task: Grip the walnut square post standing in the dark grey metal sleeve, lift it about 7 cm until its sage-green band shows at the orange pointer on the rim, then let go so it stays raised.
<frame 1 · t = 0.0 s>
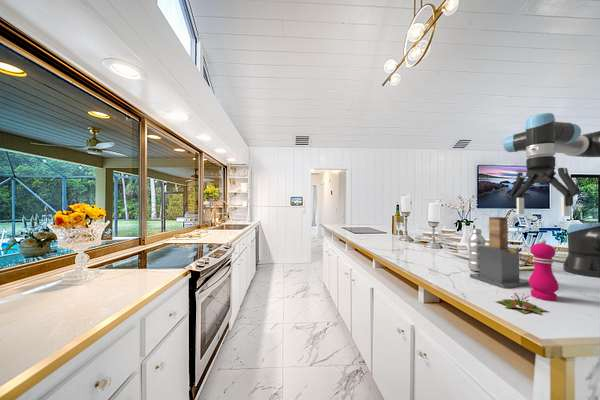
hand: (541, 215, 87), 28 cm above the table, tool pointing down, fingers open, 13 cm apart
column: (498, 247, 99), point 14 cm above the table, slide at 0.0 cm
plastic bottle: (476, 271, 114), on the table
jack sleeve: (499, 281, 99), on the table
lily flower: (520, 309, 74), on the table
pepper mill: (543, 298, 82), on the table
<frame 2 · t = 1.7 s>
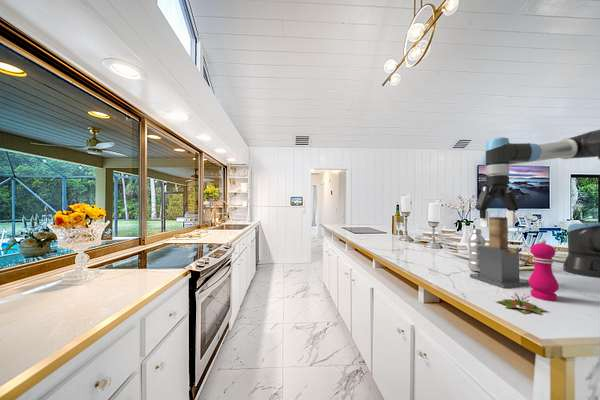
hand: (497, 226, 100), 23 cm above the table, tool pointing down, fingers open, 13 cm apart
nothing on the table moved.
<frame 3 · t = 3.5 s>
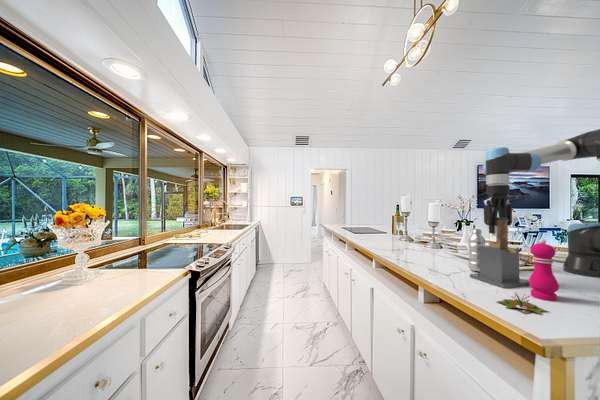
hand: (498, 241, 99), 17 cm above the table, tool pointing down, fingers closed on column, 4 cm apart
column: (498, 247, 99), point 14 cm above the table, slide at 0.0 cm, touching gripper
everything else where it was.
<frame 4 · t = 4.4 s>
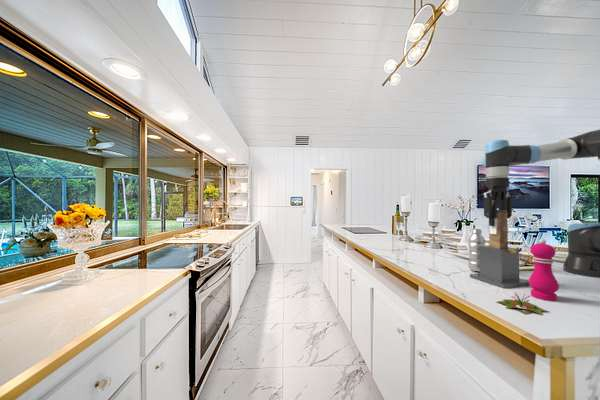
hand: (498, 233, 99), 20 cm above the table, tool pointing down, fingers closed on column, 4 cm apart
column: (498, 239, 99), point 17 cm above the table, slide at 3.1 cm, touching gripper
everything else where it was.
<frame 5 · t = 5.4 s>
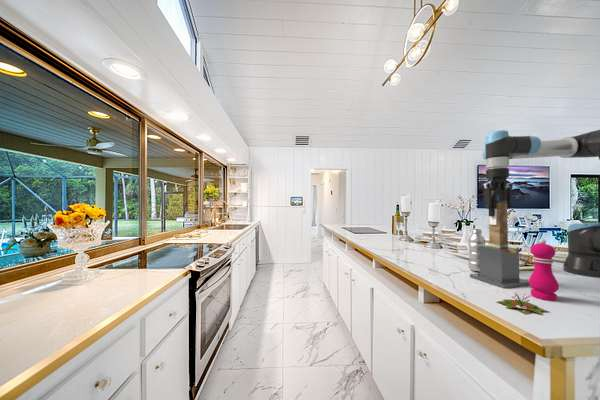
hand: (498, 224, 100), 24 cm above the table, tool pointing down, fingers closed on column, 4 cm apart
column: (498, 230, 99), point 21 cm above the table, slide at 6.9 cm, touching gripper
everything else where it was.
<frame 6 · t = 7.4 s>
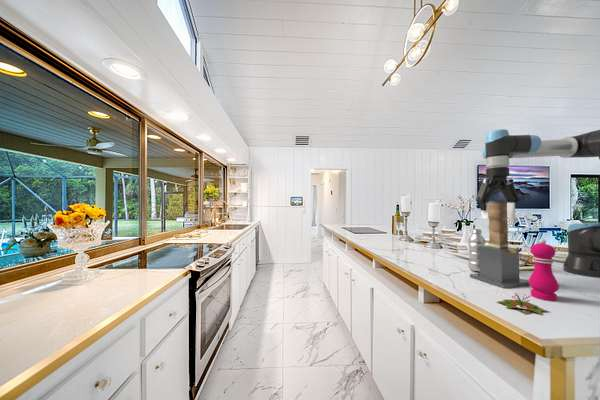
hand: (498, 218, 100), 26 cm above the table, tool pointing down, fingers open, 13 cm apart
column: (498, 230, 99), point 21 cm above the table, slide at 7.0 cm
everything else where it was.
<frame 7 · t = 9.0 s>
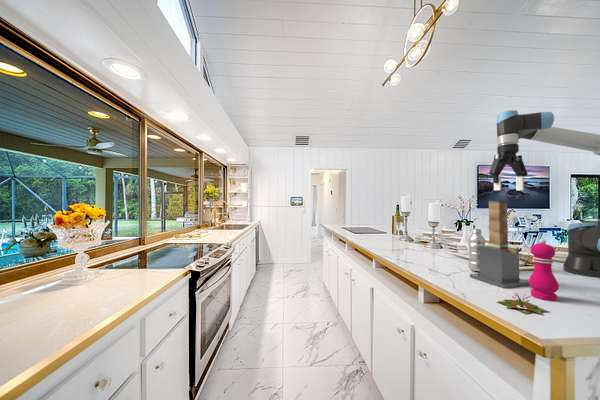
hand: (508, 190, 111), 38 cm above the table, tool pointing down, fingers open, 13 cm apart
nothing on the table moved.
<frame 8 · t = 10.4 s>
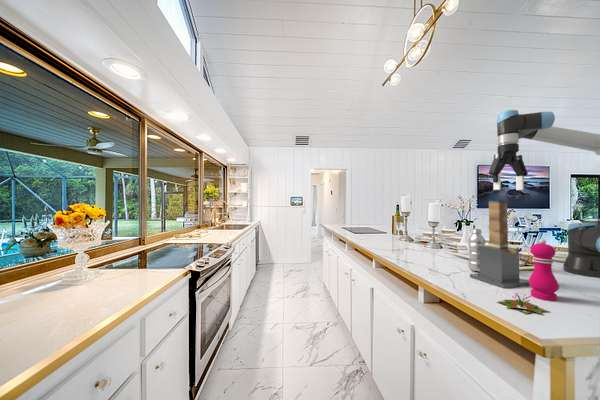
hand: (508, 189, 111), 39 cm above the table, tool pointing down, fingers open, 13 cm apart
nothing on the table moved.
at the end: column slide at 7.0 cm; the gripper is holding nothing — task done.
